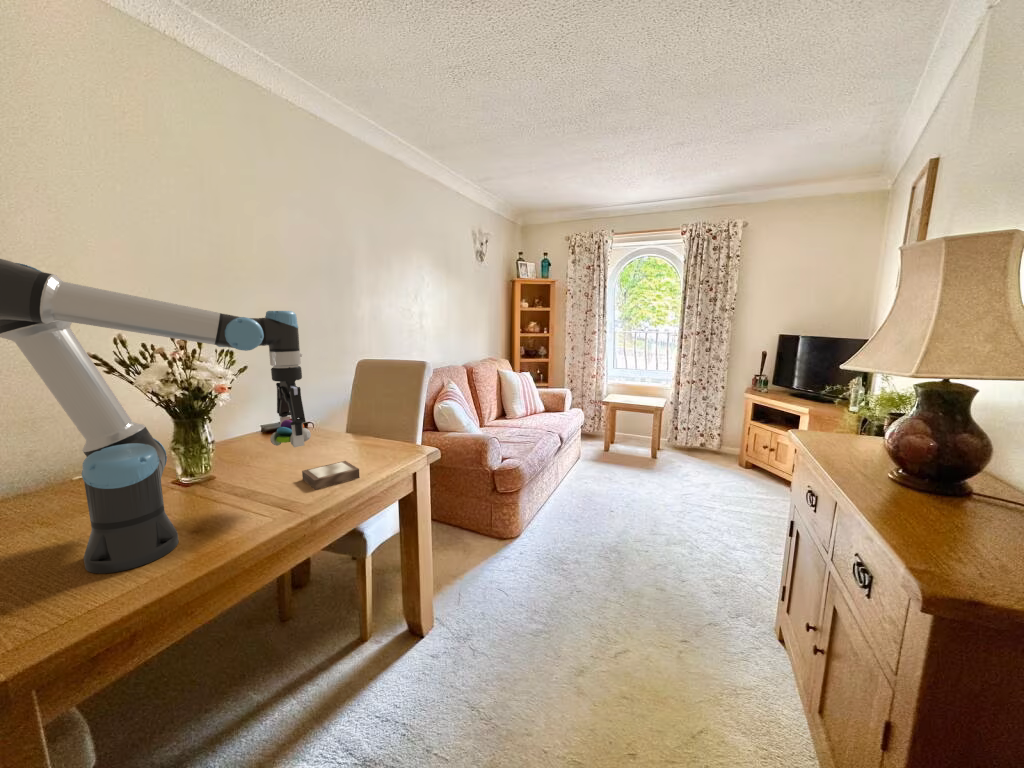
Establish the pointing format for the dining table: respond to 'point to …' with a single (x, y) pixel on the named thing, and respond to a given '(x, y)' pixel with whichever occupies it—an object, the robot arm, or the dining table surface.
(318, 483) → the plinth
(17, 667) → the dining table surface
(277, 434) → the rainbow pebble stack
